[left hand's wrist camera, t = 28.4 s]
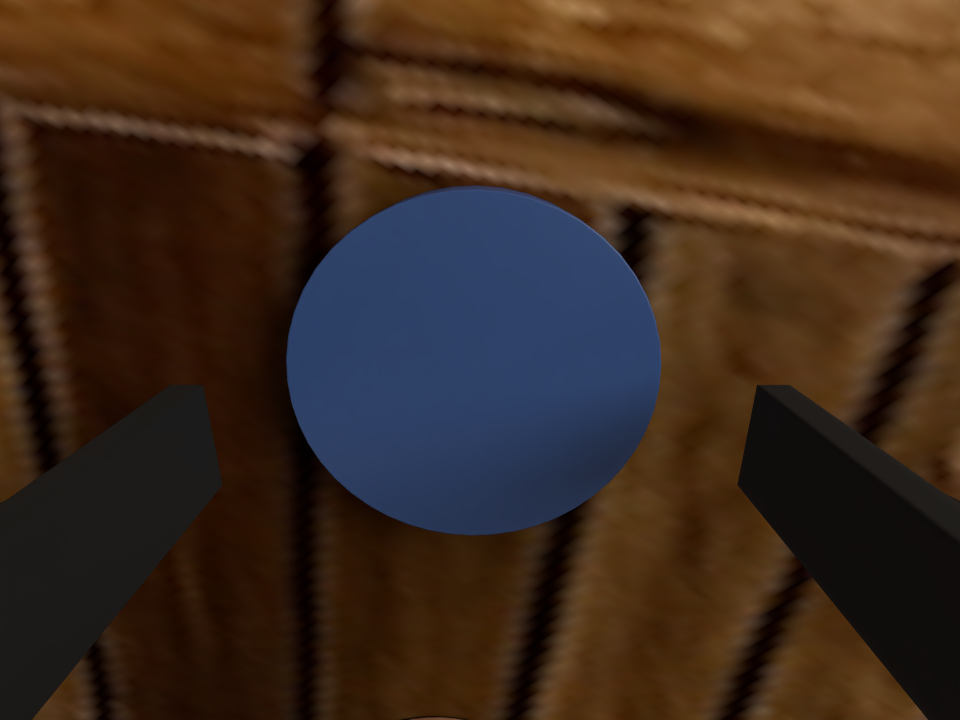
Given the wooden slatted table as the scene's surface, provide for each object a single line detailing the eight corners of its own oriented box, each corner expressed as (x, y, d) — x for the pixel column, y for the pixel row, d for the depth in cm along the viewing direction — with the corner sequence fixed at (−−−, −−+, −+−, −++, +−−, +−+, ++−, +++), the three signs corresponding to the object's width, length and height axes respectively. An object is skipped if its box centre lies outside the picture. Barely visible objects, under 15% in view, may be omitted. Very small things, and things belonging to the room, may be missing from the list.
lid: (703, 395, 16) (727, 420, 14) (443, 551, 18) (440, 586, 16) (516, 101, 13) (521, 94, 11) (231, 328, 15) (205, 347, 14)
